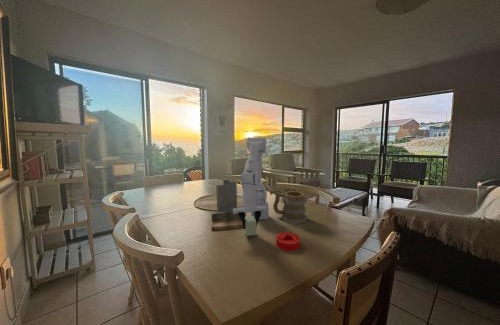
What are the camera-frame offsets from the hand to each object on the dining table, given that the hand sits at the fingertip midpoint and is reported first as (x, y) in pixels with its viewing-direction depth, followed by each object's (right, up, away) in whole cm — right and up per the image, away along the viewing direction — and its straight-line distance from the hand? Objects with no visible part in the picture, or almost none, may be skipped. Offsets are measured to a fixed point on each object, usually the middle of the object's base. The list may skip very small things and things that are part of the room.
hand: (249, 227), depth 91 cm
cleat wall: (-10, -2, +13) cm, 16 cm away
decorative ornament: (+16, -5, -8) cm, 18 cm away
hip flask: (-14, 0, +31) cm, 34 cm away
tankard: (+21, -1, +20) cm, 29 cm away
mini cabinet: (0, -2, 0) cm, 2 cm away
